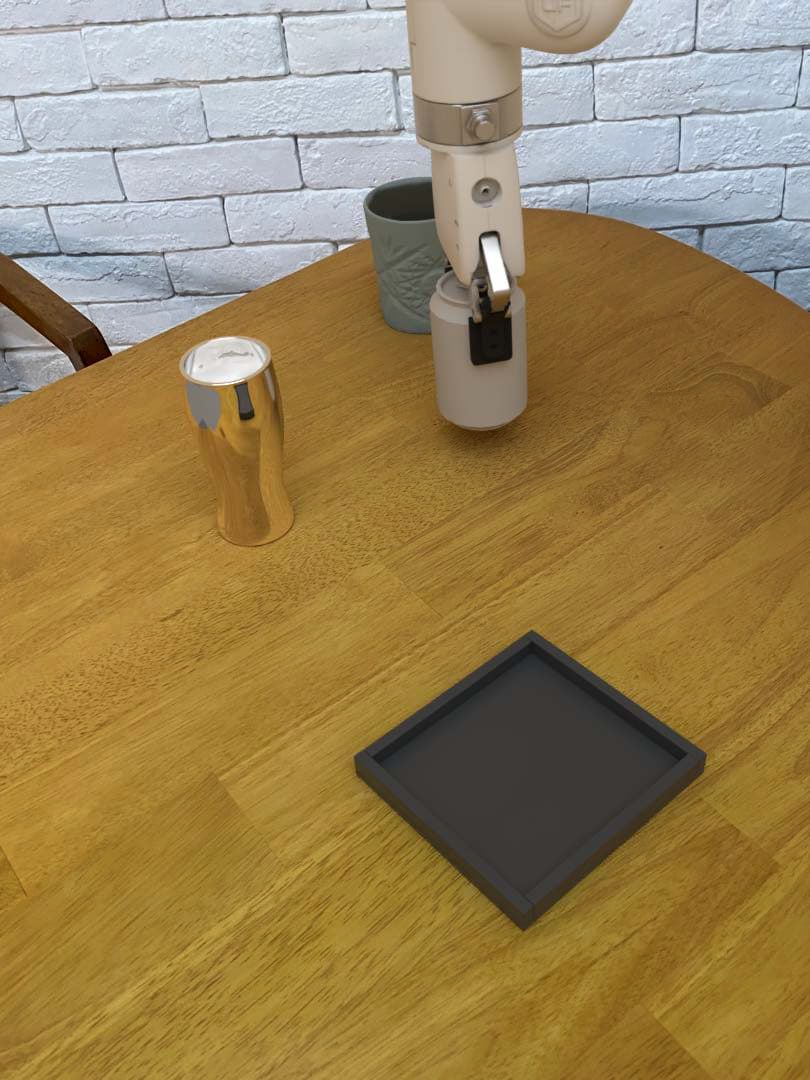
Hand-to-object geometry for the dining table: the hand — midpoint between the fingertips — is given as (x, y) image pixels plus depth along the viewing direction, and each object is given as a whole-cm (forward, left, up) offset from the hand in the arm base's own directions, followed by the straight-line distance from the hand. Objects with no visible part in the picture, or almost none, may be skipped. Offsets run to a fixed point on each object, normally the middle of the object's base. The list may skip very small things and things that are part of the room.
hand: (478, 333), depth 90 cm
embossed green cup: (-11, -20, -10) cm, 25 cm away
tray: (+22, +27, -10) cm, 37 cm away
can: (0, 0, -8) cm, 8 cm away
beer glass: (+20, -5, -10) cm, 23 cm away
